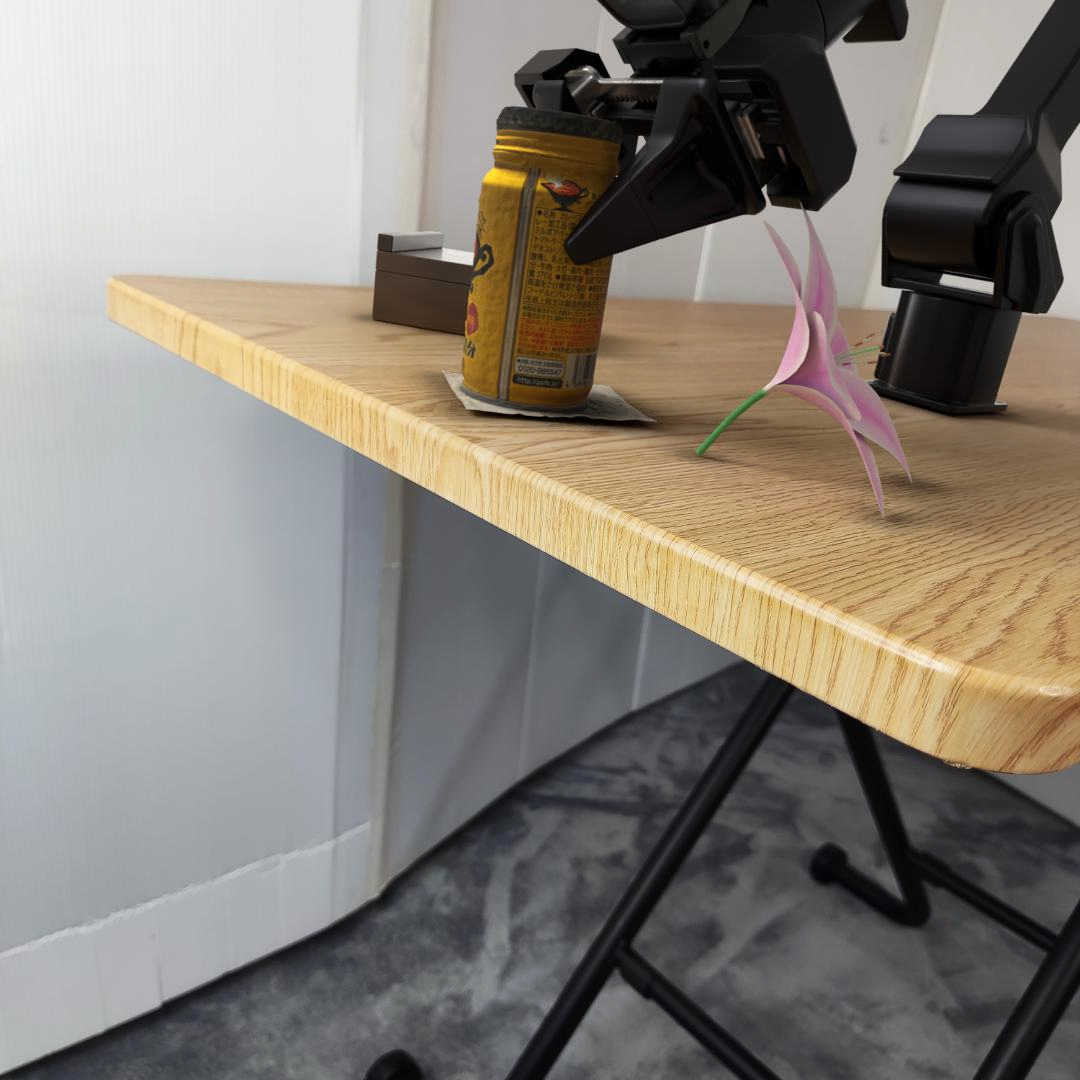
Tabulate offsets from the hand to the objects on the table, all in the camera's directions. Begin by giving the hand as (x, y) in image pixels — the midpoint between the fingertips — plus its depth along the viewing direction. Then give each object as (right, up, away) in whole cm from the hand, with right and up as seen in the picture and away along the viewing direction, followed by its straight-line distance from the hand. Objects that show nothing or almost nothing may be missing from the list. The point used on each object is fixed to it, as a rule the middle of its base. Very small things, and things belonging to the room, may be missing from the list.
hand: (530, 246), depth 41 cm
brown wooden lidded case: (-4, +2, +23) cm, 23 cm away
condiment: (0, -6, +3) cm, 7 cm away
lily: (+10, -10, -4) cm, 15 cm away
